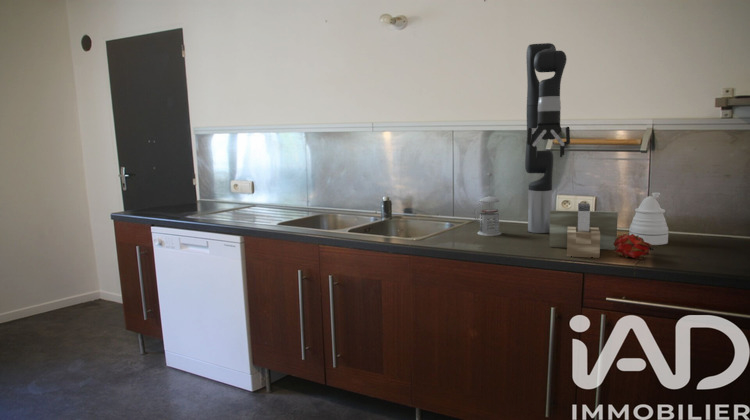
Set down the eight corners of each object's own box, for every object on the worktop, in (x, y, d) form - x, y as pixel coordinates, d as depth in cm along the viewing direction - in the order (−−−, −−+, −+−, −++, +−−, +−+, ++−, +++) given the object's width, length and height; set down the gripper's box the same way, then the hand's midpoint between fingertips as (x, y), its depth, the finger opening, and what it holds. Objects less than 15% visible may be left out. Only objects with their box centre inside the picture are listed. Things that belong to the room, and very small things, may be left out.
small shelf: (549, 246, 196) (550, 210, 194) (615, 248, 189) (617, 211, 187) (547, 255, 182) (548, 217, 180) (619, 258, 174) (621, 218, 172)
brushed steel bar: (577, 237, 187) (578, 203, 185) (588, 238, 186) (589, 203, 184) (577, 241, 180) (578, 206, 179) (588, 242, 179) (590, 206, 177)
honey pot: (663, 238, 204) (665, 190, 202) (671, 245, 192) (674, 194, 190) (626, 237, 208) (627, 190, 205) (632, 244, 196) (634, 194, 193)
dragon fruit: (610, 259, 180) (649, 269, 174) (607, 248, 174) (648, 258, 167) (617, 237, 183) (656, 245, 176) (615, 225, 176) (655, 234, 169)
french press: (506, 234, 220) (506, 172, 217) (481, 237, 216) (482, 174, 212) (492, 230, 229) (492, 171, 226) (468, 233, 225) (468, 172, 222)
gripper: (570, 109, 189) (569, 156, 192) (528, 111, 194) (528, 156, 196) (570, 109, 182) (569, 157, 185) (527, 110, 187) (526, 157, 189)
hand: (548, 157), depth 190 cm, fingers open, 8 cm apart
